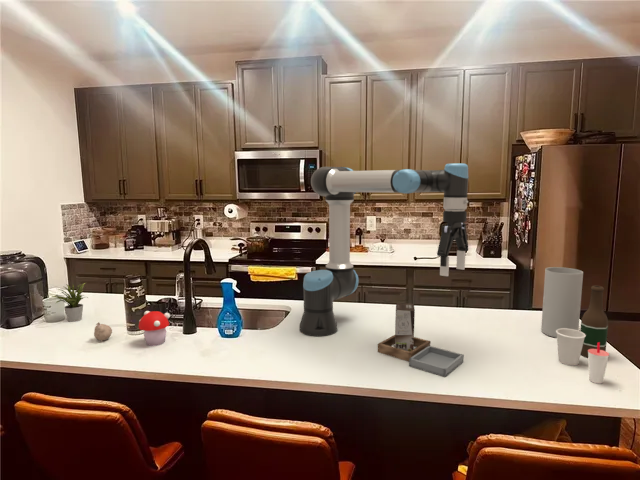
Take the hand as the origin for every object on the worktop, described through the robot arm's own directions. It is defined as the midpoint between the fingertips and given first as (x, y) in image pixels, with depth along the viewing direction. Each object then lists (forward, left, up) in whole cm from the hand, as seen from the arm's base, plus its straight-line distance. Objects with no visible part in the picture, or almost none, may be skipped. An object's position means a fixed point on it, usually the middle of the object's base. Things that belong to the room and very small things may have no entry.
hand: (452, 272), depth 145 cm
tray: (+1, -13, -28) cm, 31 cm away
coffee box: (-12, -10, -28) cm, 32 cm away
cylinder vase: (+26, +43, -28) cm, 57 cm away
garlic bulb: (-105, -73, -28) cm, 131 cm away
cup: (+43, +6, -28) cm, 52 cm away
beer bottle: (+39, +27, -28) cm, 55 cm away
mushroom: (-87, -62, -28) cm, 111 cm away
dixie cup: (+34, +16, -28) cm, 47 cm away
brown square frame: (-12, -10, -28) cm, 32 cm away
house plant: (-140, -70, -28) cm, 159 cm away
